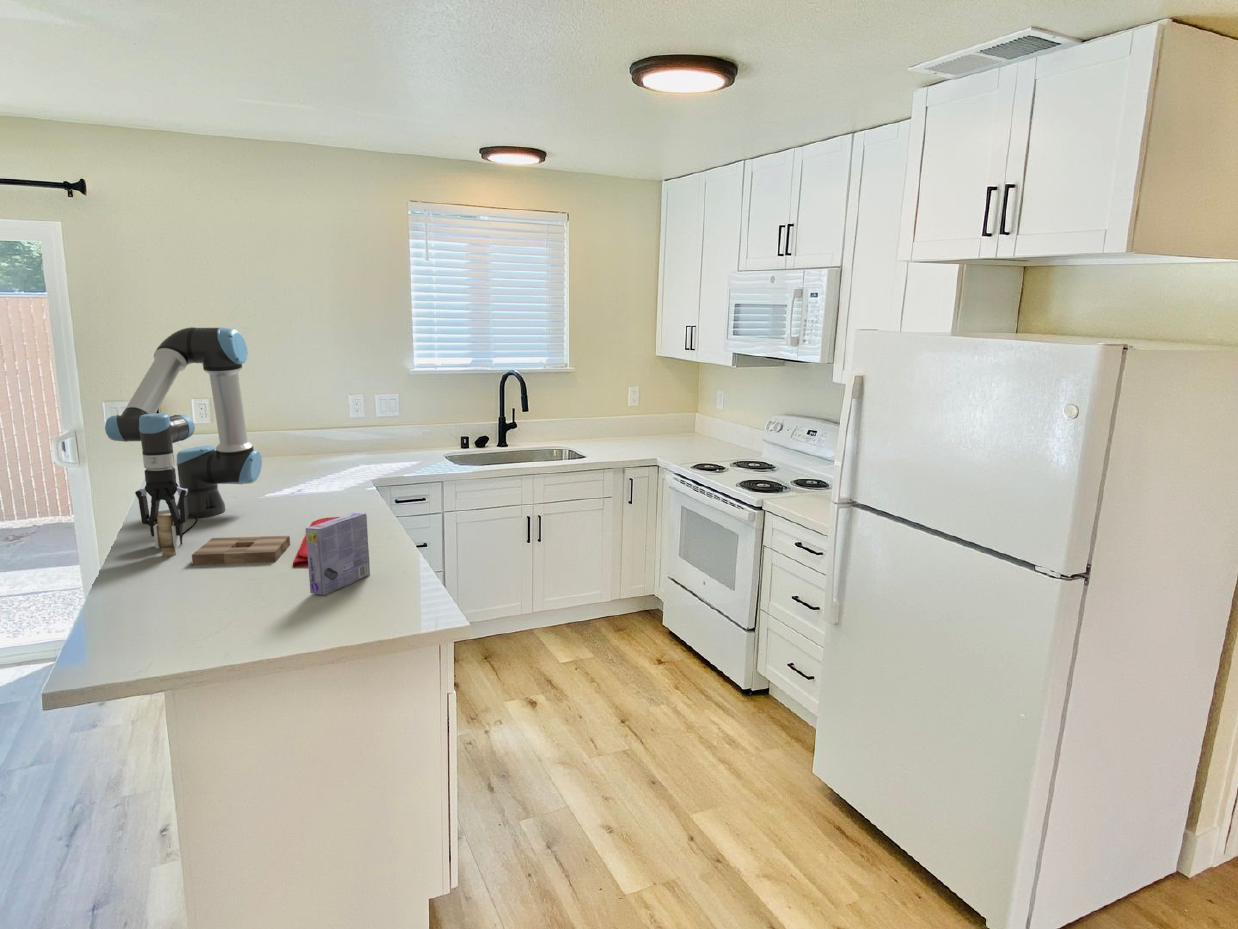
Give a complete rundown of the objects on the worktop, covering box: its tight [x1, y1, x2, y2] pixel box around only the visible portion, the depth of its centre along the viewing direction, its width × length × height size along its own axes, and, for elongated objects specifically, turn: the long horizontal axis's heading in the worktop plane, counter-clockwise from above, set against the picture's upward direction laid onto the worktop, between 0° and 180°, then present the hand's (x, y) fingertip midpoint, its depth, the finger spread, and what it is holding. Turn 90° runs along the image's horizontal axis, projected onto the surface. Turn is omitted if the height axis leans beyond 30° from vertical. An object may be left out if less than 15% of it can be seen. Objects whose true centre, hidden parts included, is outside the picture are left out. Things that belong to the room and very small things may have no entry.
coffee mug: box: [156, 509, 198, 549], centre depth 227 cm, size 12×9×10 cm
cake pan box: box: [305, 512, 371, 597], centre depth 197 cm, size 19×5×18 cm, turn 159°
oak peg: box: [157, 514, 177, 558], centre depth 217 cm, size 4×4×12 cm
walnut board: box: [191, 535, 291, 566], centre depth 220 cm, size 16×22×3 cm
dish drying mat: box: [292, 516, 341, 568], centre depth 231 cm, size 16×41×4 cm, turn 15°
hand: (168, 546), depth 218 cm, fingers closed on oak peg, 4 cm apart
